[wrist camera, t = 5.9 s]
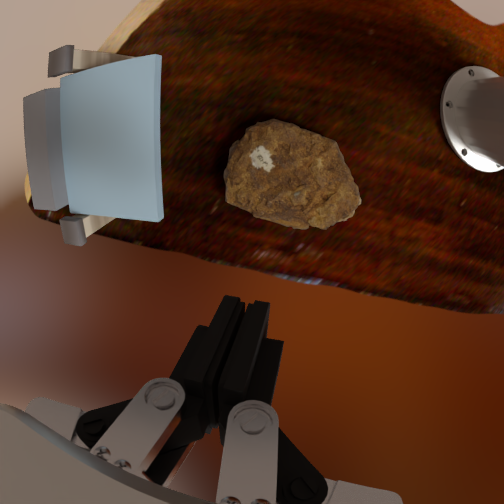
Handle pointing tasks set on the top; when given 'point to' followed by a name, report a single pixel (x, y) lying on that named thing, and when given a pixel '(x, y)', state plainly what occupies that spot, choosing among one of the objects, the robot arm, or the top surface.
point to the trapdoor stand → (75, 62)
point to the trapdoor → (98, 141)
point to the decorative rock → (290, 177)
